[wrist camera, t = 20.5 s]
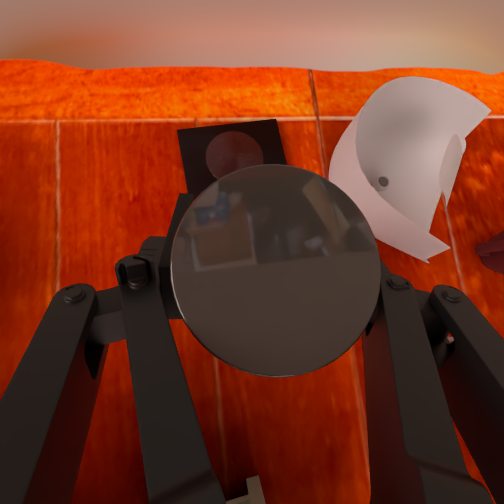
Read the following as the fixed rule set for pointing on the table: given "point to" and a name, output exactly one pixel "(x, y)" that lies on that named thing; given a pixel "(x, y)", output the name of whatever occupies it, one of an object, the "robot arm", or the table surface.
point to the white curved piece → (405, 158)
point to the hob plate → (227, 150)
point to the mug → (492, 253)
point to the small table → (251, 493)
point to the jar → (275, 270)
